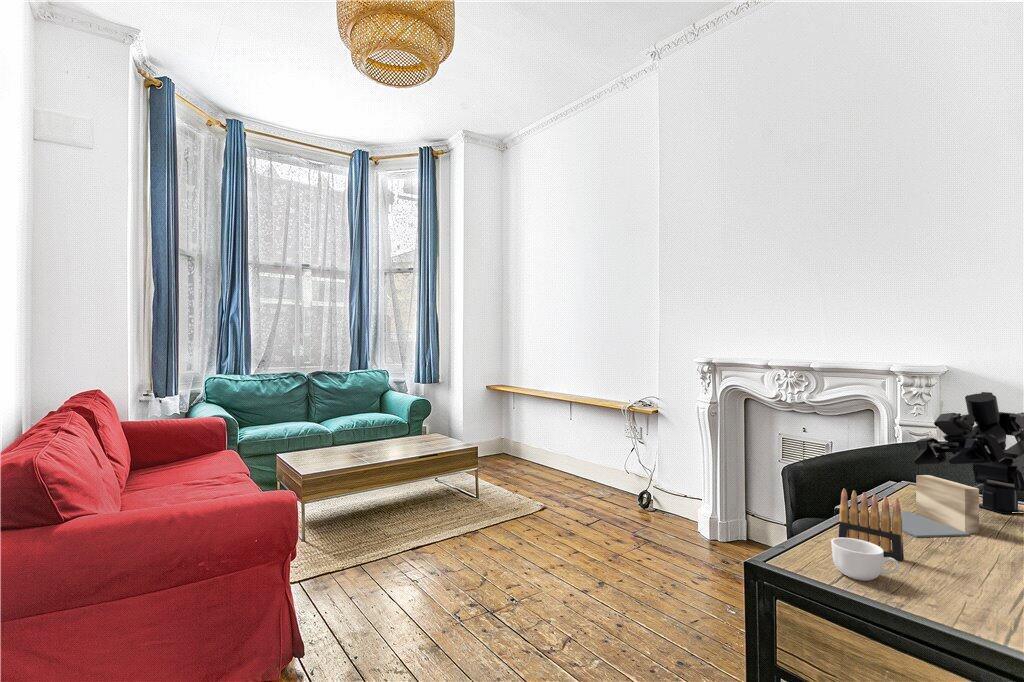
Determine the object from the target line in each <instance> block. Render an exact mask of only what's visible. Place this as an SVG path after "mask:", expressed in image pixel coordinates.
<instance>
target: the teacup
mask: <svg viewBox="0 0 1024 682" xmlns="http://www.w3.org/2000/svg"><path fill="white" fill-rule="evenodd" d="M830 544H831V555H832V561H833V563H834V565H835V567H836V568H837V570H838V571H839V572H840V573H842V575H844V576H845V575H846V576H845V577H847V576H848V578H850V579H853V580H856V581H864V582H867V581H872V580H875V579H877V578H878V577H879V576H880V575H884V574H886V575H887V574H888V575H889V574H894V573H897V572H898V571H899V570H900V564H899V561H896V560H895V559H893V558H891V557H883V553H884V551H883V549H882V548H881V546H880V547H879V546H877V545H875V544H873V543H870V541H869V542H867V541H863V540H858V539H853V538H842V537H840V538H838V537H835V538H831V540H830ZM890 561H891V562H893V563H894V564H895V568H894V569H891V570H888V569H884V568H883V567H884V565H885V564H886V563H887V562H890Z"/></svg>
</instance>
